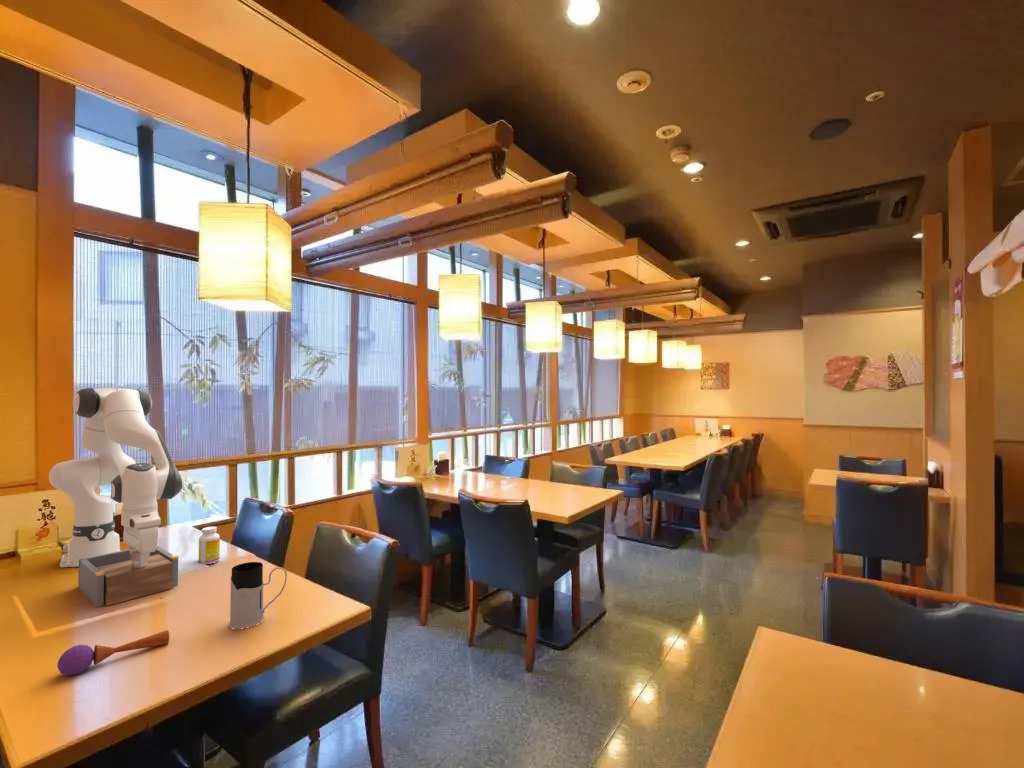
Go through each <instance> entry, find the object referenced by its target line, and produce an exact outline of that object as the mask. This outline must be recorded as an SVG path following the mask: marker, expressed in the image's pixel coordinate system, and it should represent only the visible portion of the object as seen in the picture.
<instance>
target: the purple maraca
mask: <svg viewBox="0 0 1024 768" xmlns="http://www.w3.org/2000/svg"><path fill="white" fill-rule="evenodd" d="M169 641H170V631H169V630H168V629H167V630H163V631H160V632H158V633H154V634H151V635H148V636H145V637H143V638H140V639H136V640H134V641H131V642H128V643H125V644H122V645H119V646H116V647H113V646H104V645H99V644H95V645H94V647H93V648H92V647H90V646H89V645H87V644H77V645H73V646H72V647H70V648H68V649H66V651H64V652H63V653H62V654H61V656H60V658H59V659H58V661H57V668H58V671H59V673H61V674H62V675H64V676H76V675H79V674H81V673H82V672H83V673H84V671H86V670H87V669H88V668H89V667H90V666H91V665H92V663H93V665H94V666H96V665H98V664H99V663H101V662H103V661H104V660H106V659H107V658H110V656H112V655H114V654H115V653H121V652H128V651H129V652H130V651H134V650H140V649H147V648H152V647H159V646H164V645H165V646H166V645H169Z"/></svg>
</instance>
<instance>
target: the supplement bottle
mask: <svg viewBox="0 0 1024 768" xmlns="http://www.w3.org/2000/svg"><path fill="white" fill-rule="evenodd" d="M217 529H218V527H217V526H207V527H204V528H202V529H201V533H202V534H201V535H200V536H199V537H198V562H199V563H201V564H203V565H205V564H211V563H214V562H217V561H218V562H220V553H221V552H220V547H221V544H220V542H221V541H220V538H221V537H220V534H219V533H217ZM218 562H217V563H218ZM214 564H215V563H214ZM211 565H212V564H211Z"/></svg>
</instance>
